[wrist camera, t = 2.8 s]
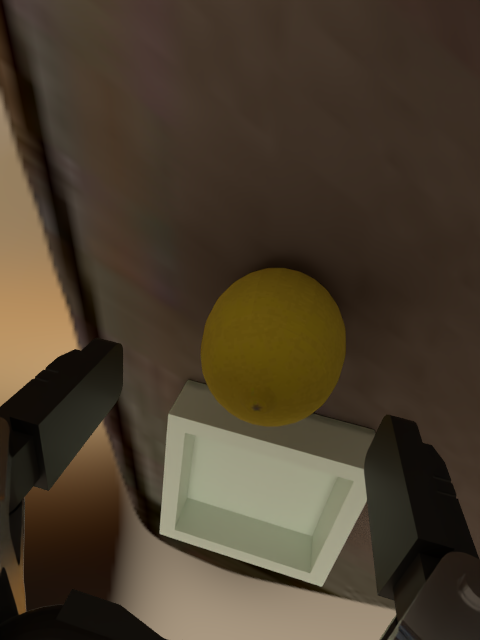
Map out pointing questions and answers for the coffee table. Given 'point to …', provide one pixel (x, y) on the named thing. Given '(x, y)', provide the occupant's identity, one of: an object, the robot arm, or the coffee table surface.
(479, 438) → the coffee table surface
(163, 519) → the tray
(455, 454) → the coffee table surface
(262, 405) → the lemon
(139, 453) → the coffee table surface
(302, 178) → the coffee table surface
